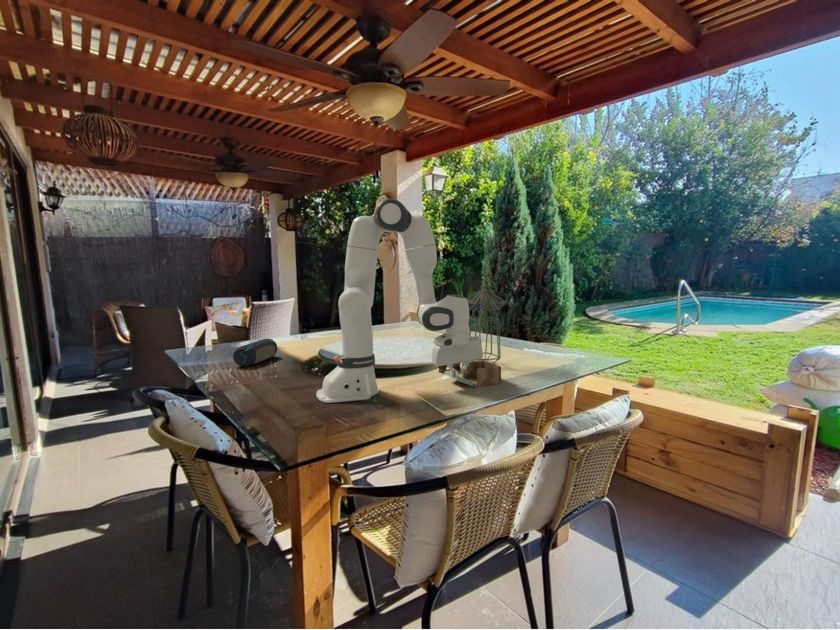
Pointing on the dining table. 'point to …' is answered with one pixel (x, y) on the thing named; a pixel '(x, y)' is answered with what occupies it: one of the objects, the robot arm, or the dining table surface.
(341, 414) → the dining table surface
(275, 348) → the portable speaker
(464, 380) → the panel
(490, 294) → the geometric lantern
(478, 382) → the crate
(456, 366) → the dark brown arch
